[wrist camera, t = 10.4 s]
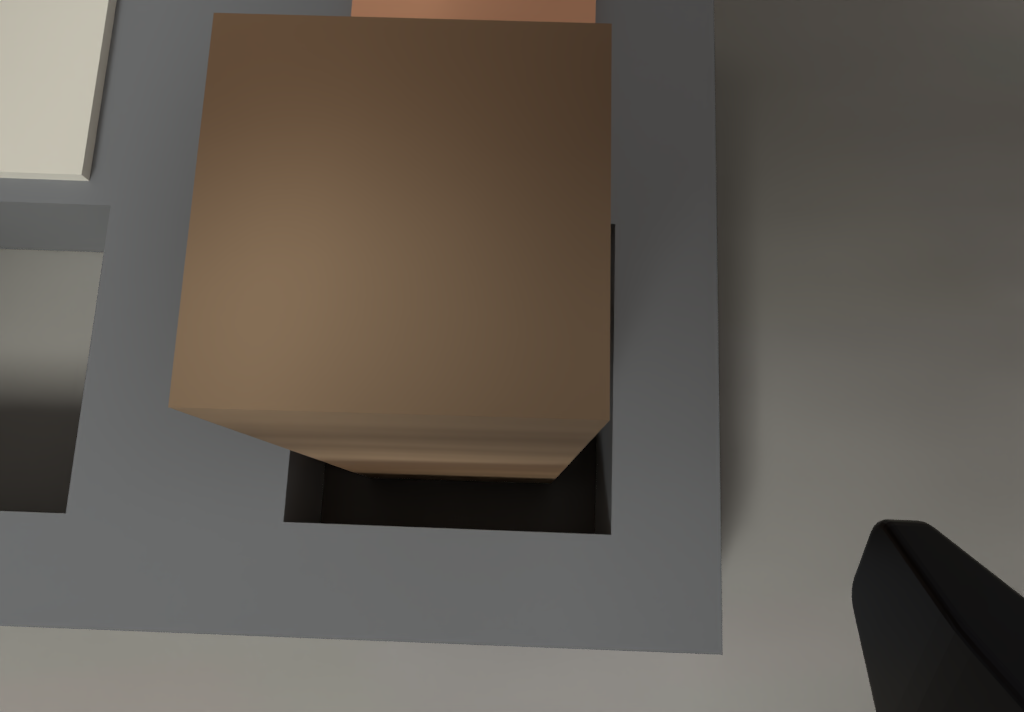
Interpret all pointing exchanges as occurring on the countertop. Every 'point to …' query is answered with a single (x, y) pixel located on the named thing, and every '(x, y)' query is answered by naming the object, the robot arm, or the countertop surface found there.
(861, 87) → the countertop surface
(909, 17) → the countertop surface
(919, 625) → the robot arm
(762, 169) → the countertop surface
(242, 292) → the brown wooden block
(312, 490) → the socket block
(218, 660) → the countertop surface
